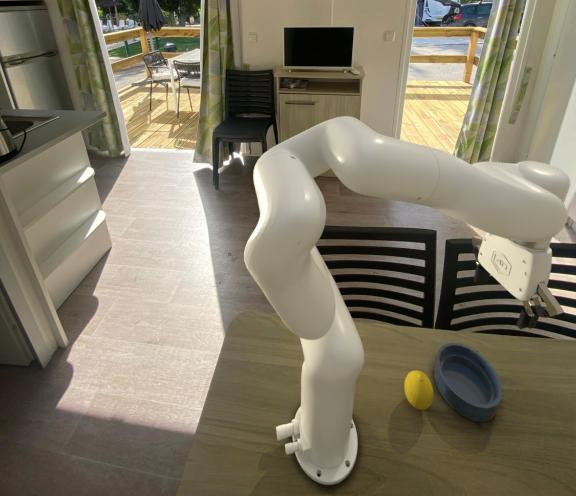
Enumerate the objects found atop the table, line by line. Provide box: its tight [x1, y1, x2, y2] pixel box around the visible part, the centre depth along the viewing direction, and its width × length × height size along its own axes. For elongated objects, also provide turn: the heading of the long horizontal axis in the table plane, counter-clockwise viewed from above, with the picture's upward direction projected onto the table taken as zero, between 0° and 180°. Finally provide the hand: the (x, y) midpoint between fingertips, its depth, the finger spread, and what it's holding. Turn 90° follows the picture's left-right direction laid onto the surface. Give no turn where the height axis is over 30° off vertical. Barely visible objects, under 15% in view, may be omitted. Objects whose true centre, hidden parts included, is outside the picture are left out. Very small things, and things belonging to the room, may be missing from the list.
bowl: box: [433, 342, 503, 423], centre depth 65 cm, size 12×12×5 cm
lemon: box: [403, 369, 434, 411], centre depth 62 cm, size 6×6×8 cm
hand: (501, 301), depth 58 cm, fingers open, 9 cm apart
